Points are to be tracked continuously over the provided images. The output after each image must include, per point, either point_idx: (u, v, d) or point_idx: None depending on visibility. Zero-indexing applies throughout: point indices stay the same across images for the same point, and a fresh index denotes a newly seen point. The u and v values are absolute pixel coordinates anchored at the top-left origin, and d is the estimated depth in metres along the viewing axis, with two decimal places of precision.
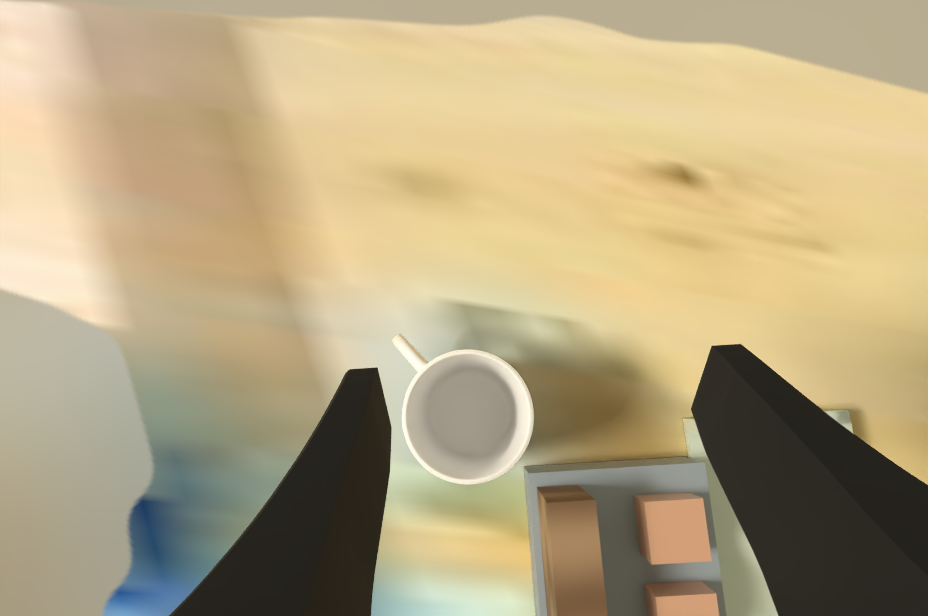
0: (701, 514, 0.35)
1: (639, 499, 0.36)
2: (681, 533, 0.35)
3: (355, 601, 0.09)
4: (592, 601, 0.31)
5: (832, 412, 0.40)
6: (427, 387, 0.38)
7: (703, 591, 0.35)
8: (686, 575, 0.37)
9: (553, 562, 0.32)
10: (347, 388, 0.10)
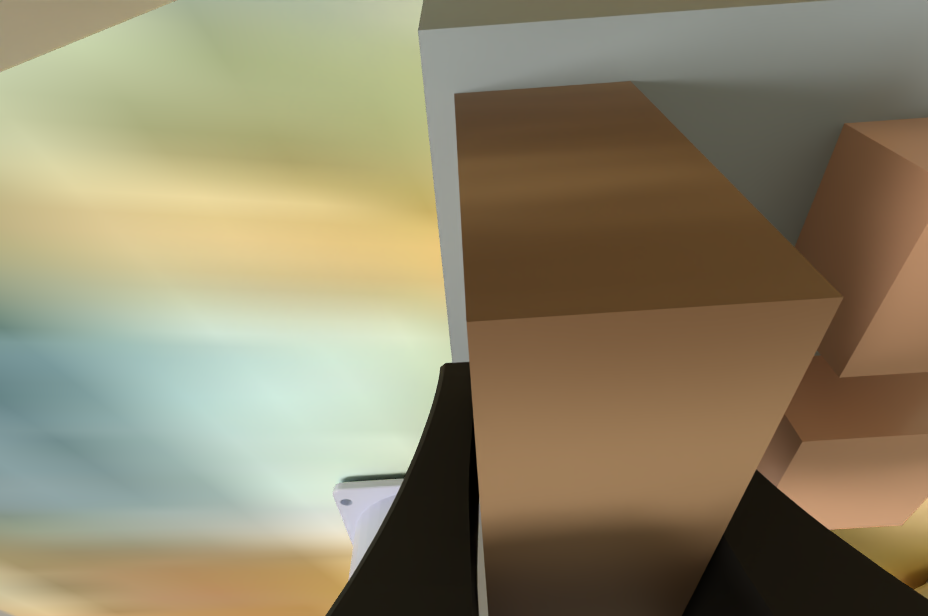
0: None
1: (895, 155, 0.08)
2: None
3: (476, 594, 0.09)
4: (632, 605, 0.08)
5: None
6: None
7: None
8: None
9: (486, 538, 0.06)
10: (450, 381, 0.10)
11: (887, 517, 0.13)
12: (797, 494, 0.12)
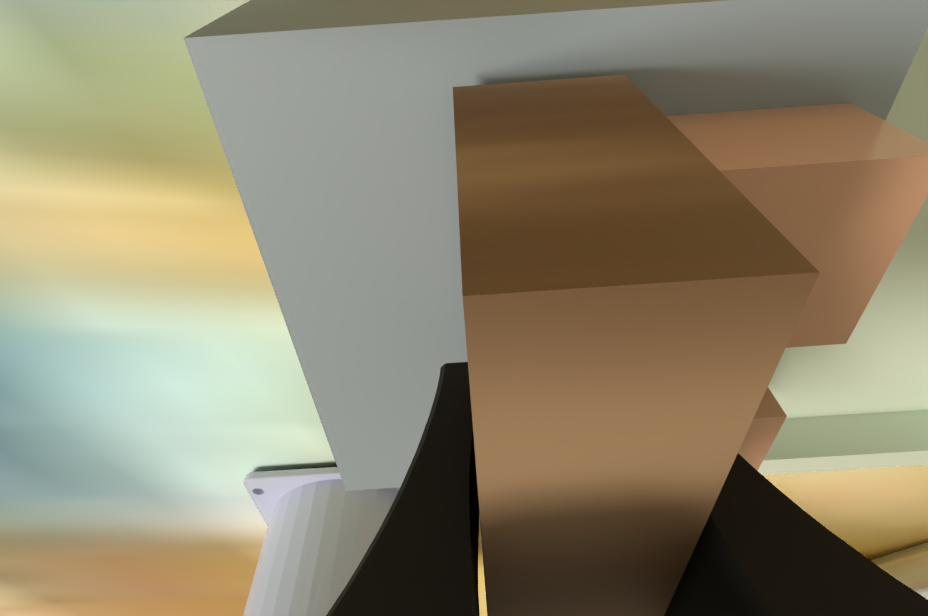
0: (903, 213, 0.09)
1: None
2: None
3: (476, 594, 0.09)
4: (626, 582, 0.08)
5: None
6: None
7: None
8: None
9: (484, 513, 0.07)
10: (450, 381, 0.10)
11: None
12: None
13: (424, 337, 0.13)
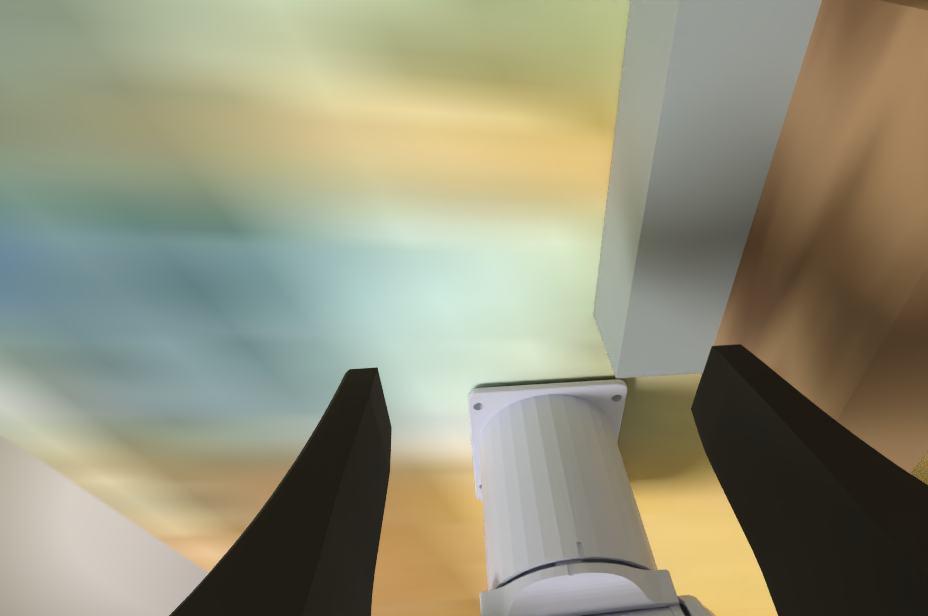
0: None
1: None
2: None
3: (355, 601, 0.09)
4: None
5: None
6: None
7: None
8: None
9: None
10: (347, 388, 0.10)
11: None
12: None
13: (749, 219, 0.16)
